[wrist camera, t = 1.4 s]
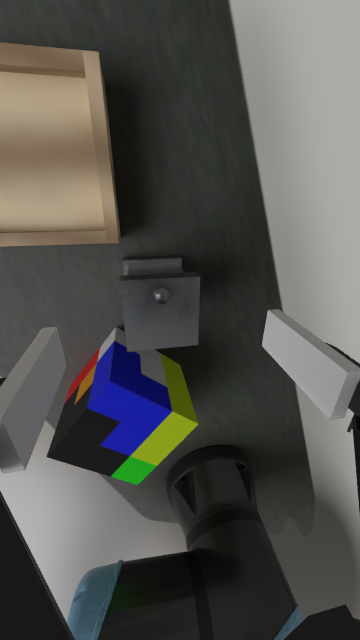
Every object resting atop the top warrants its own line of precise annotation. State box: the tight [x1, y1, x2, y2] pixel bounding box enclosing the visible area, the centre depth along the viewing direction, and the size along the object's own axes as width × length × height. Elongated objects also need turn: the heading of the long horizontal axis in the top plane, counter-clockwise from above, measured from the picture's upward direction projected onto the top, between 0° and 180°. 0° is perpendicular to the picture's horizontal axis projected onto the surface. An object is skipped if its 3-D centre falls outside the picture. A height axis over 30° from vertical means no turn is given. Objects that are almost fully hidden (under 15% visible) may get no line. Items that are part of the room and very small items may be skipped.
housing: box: [119, 256, 200, 352], centre depth 23 cm, size 6×6×10 cm
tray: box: [0, 43, 121, 246], centre depth 19 cm, size 12×12×4 cm
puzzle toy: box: [47, 327, 198, 485], centre depth 27 cm, size 10×10×10 cm
